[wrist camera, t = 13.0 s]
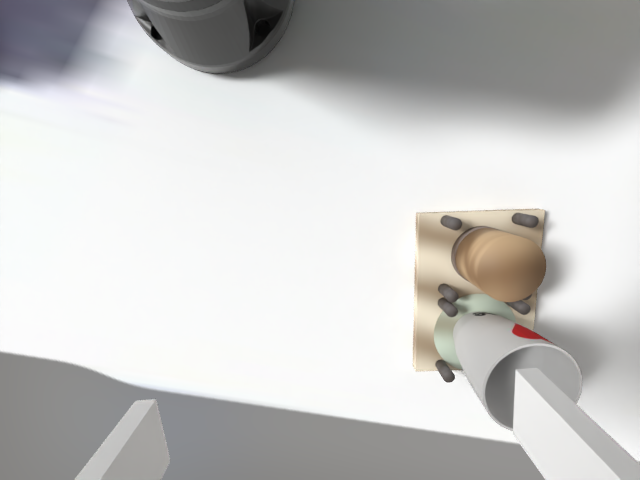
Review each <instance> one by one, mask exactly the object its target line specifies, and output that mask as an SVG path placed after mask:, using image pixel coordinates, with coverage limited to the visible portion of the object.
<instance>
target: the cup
mask: <svg viewBox="0 0 640 480" xmlns="http://www.w3.org/2000/svg"><path fill="white" fill-rule="evenodd" d="M453 339H454V345H455V350H456V354H457V357H458V359H459V362H460V364H461V366H462V368H463V371H464V373H465V375H466V378H467V380H468V382H469V383H470V385H471V386H472V388H473V390H474V391H475V393H476V394H477V396H478V398H479V399H480V401H481V403H482V404H483V406H484V407H485V409H486V411H487V412H488V414H489V415H490V417H491V418H492V419H493V420H494V421H495V422H496V423H497V424H499V425H500V426H502V427H504V428H506V429H508V430H511V431H513V417H514V394H515V371H516V369H527V368H538V369H539V370H540V371H541V372H542V373H543V374H544V375H545V376H546V377H547V378H549V379H550V380H551V381H552V382H553V383H554V384H555V385H556V386H557V387H558V388H559V389H560V390H561V391H562V392H564V393H565V394H566V395H567V396H568V397H569V398H570V399H571V400H572V401H573V402H574V403H575V404H577V402H578V400H579V398H580V395H581V391H582V374H581V371H580V368H579V366H578V364H577V362H576V361H575V359H574V358H573V357H572V356H571V355H570V354H569V353H567V352H566V351H565V350H563V349H561V348H560V347H558V346H556V345H555V344H553V343H552V342H550V341H548V340H547V339H545V338H543V337H542V336H540V335H539V334H537V333H535V332H534V331H532V330H530V329H529V328H527V327H525V326H522V325H520V324H518V323H515V322H513V321H511V320H509V319H506V318H504V317H502V316H499V315H495V314H490V313H485V312H480V311H475V312H470V313H468V314H465V315H464V316H462V317H461V318H460V319H459V320H458V321H457V323H456V324H455V326H454V329H453Z"/></svg>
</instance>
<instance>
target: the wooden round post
mask: <svg viewBox="0 0 640 480" xmlns="http://www.w3.org/2000/svg"><path fill="white" fill-rule="evenodd" d="M451 261H452V265H453V267H454V269H455V271H456V272H457V273H458V275H460V276H461V277H462V278H464V279H465V280H467V281H468V282H470V283H472V284H473V285H474V286H476V287H477V288H479V289H480V290H481V291H483V292H484V293H486V294H487V295H489V296H490V297H492V298H493V299H495V300H498V301H502V302H515V301H519V300H522V299H524V298H526V297H528V296H529V295H531V294H532V293H533V292H534V291H535V290H536V289H537V288H538V287H539V286H540V284H541V283H542V281H543V278H544V276H545V272H546V260H545V256H544V254H543V252H542V250H541V249H540V247H539V246H538V245H537V244H536V243H534V242H533V241H531V240H529V239H526V238H523V237H520V236H517V235H513V234H510V233H507V232H503V231H500V230H498V229H495V228H492V227H488V226H476V227H473V228H470V229H468V230H466V231H465V232H463V233H462V234H461V235H460V236H459V237H458V238H457V240H456V241H455V243H454V245H453V247H452V251H451Z"/></svg>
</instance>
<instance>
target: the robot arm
mask: <svg viewBox="0 0 640 480" xmlns="http://www.w3.org/2000/svg"><path fill="white" fill-rule="evenodd" d="M127 1H128V4H129V6H130V8H131V10H132V12H133V14H134V16H135V18H136V19H137V21H138V23H139V24H140V26H141V27H142V28H143V30H144V31H145V32H146V33H147V35H148V36H149V37H150V38H151V39H152V40H153V41H154V42H155V43H156V44H157V45H158V46H159V47H160V48H162V49H163V50H164V51H165V52H167V53H168V54H169V55H170V56H171V57H173V58H174V59H176V60H177V61H179V62H180V63H182V64H184V65H186V66H188V67H190V68H193V69H196V70H199V71H203V72H208V73H230V72H235V71H239V70H242V69H245V68H247V67H249V66H251V65H253V64H255V63H257V62H258V61H260V60H261V59H262V58H264V57H265V56H266V55H267V54H268V53H269V52H270V51H271V50H272V49H273V48H274V47H275V46H276V44H277V43H278V42H279V40H280V39H281V37H282V35H283V34H284V32H285V30H286V28H287V25H288V23H289V20H290V17H291V13H292V9H293V4H294V0H127ZM513 435H514V436H515V438H516V439H517V440H518V442H519V443H520V445H521V446H522V447H523V449H524V450H525V452H526V453H527V454H528V456H529V457H530V459H531V460H532V461H533V463H534V464H535V466H536V467H537V468H538V470H539V471H540V472H541V474H542V475H543V477H544V478H545V479H546V480H640V464H639V463H638V462H637V461H636V460H635V459H634V458H633V457H632V456H631V455H630V454H629V453H628V452H627V451H626V450H625V449H623V448H622V447H621V446H620V445H619V444H618V443H617V442H616V441H615V440H614V439H613V438H612V437H611V436H610V435H608V434H607V433H606V432H605V431H604V430H603V429H602V428H601V427H600V426H599V425H598V424H597V423H596V422H595V421H593V420H592V419H591V418H590V417H589V416H588V415H587V414H586V413H585V412H584V411H583V410H582V409H581V408H580V407H578V406H577V405H576V404H575V403H574V402H573V401H572V400H571V399H570V398H569V397H568V396H567V395H566V394H565V393H564V392H562V391H561V390H560V389H559V388H558V387H557V386H556V385H555V384H554V383H553V382H552V381H551V380H550V379H549V378H547V377H546V376H545V375H544V374H543V373H542V372H541V371H540V370H539V369H538V368H527V369H516V371H515V394H514V417H513ZM169 463H170V457H169V453H168V449H167V444H166V439H165V435H164V431H163V427H162V423H161V418H160V414H159V409H158V405H157V401H156V399H153V400H140V401H135V402H134V404H133V405H132V406H131V407H130V409H129V410H128V411H127V413H126V414H125V415H124V417H123V418H122V419H121V421H120V422H119V423H118V424H117V426H116V427H115V428H114V429H113V431H112V432H111V433H110V435H109V436H108V437H107V438H106V440H105V441H104V442H103V443H102V445H101V446H100V447H99V449H98V450H97V451H96V453H95V454H94V455H93V456H92V458H91V459H90V460H89V462H88V463H87V464H86V465H85V467H84V468H83V469H82V471H81V472H80V473H79V474H78V476H77V477H76V478H75V480H161V479H162V477H163V475H164V473H165V471H166V469H167V467H168V465H169Z"/></svg>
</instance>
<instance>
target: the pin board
mask: <svg viewBox="0 0 640 480" xmlns="http://www.w3.org/2000/svg"><path fill="white" fill-rule="evenodd" d="M544 215H545V210H543V209H515V210H485V211H456V212H427V213H416V244H415V289H414V335H413V367H414V369H415V371H439V373H440V374H441V376H442V377H443V379H444V381H445V382H452V381H453V380H454V379H455V375H454V374H453V372H452V371H451V370H463V368H462V366H461V364H460V362H459V359H458V357H457V354H456V350H455V345H454V339H453V329H454V326H455V324H456V323H457V321H458V320H459V319H460V318H461V317H462V316H464V315H465V314H468V313H470V312H475V311H480V312H485V313H490V314H495V315H499V316H502V317H504V318H506V319H509V320H511V321H513V322H515V323H518V324H520V325H522V326H525V327H527V328H529V329H530V330H532V331H533V330H534V319H535V309H536V298H537V289H536V290H535V291H534V292H533V293H532V294H531V295H529V296H528V297H526V298H524V299H522V300H519V301H515V302H502V301H498V300H495V299H493V298H492V297H490V296H489V295H487V294H486V293H484V292H483V291H481V290H480V289H479V288H477V287H476V286H474V285H473V284H472V283H470V282H468V281H467V280H465V279H464V278H462V277H461V276H460V275H458V273H457V272H456V271H455V269H454V267H453V265H452V261H451V251H452V247H453V245H454V243H455V241H456V240H457V238H458V237H459V236H460V235H461V234H462V233H463V232H465V231H466V230H468V229H470V228H473V227H476V226H488V227H492V228H495V229H498V230H500V231H503V232H507V233H510V234H513V235H517V236H520V237H523V238H526V239H529V240H531V241H533V242H534V243H536V244H537V245H538V246H539V247H540V249H541V246H542V236H543V226H544Z"/></svg>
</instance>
